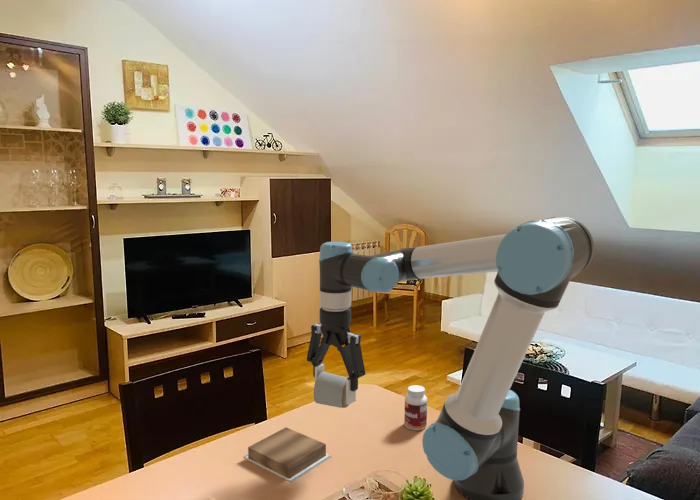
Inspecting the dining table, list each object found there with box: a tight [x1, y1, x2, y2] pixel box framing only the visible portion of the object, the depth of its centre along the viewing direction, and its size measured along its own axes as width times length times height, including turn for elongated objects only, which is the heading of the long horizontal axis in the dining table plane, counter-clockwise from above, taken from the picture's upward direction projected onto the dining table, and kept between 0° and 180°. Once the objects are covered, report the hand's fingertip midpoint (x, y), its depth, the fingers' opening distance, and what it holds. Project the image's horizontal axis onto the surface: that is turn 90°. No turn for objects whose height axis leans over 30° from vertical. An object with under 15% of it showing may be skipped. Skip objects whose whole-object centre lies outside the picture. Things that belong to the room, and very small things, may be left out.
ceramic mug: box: [313, 371, 350, 409], centre depth 131 cm, size 11×8×8 cm
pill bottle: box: [403, 384, 428, 431], centre depth 148 cm, size 6×6×11 cm
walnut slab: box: [247, 426, 327, 478], centre depth 132 cm, size 14×13×3 cm
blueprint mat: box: [242, 452, 332, 483], centre depth 133 cm, size 17×14×1 cm
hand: (334, 396), depth 130 cm, fingers closed on ceramic mug, 9 cm apart
